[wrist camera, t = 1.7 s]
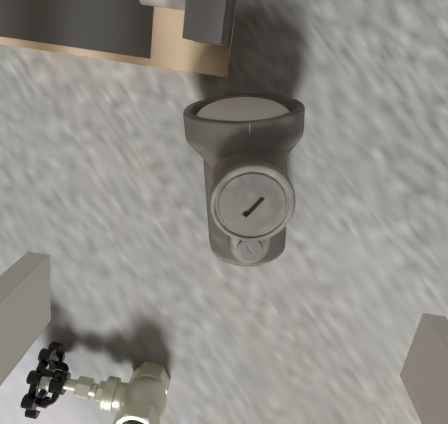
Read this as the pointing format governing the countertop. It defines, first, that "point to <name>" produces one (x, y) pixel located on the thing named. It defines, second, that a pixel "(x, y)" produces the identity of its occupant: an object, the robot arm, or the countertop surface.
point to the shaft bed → (127, 30)
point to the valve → (99, 389)
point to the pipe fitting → (246, 171)
